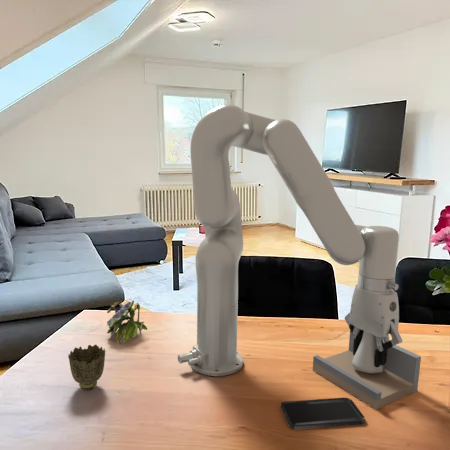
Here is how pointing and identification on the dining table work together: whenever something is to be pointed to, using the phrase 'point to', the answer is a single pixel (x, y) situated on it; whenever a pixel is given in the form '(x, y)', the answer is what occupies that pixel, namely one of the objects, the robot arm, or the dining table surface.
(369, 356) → the flask
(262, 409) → the dining table surface
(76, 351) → the cup
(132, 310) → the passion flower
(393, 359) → the wall shelf
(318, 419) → the phone
